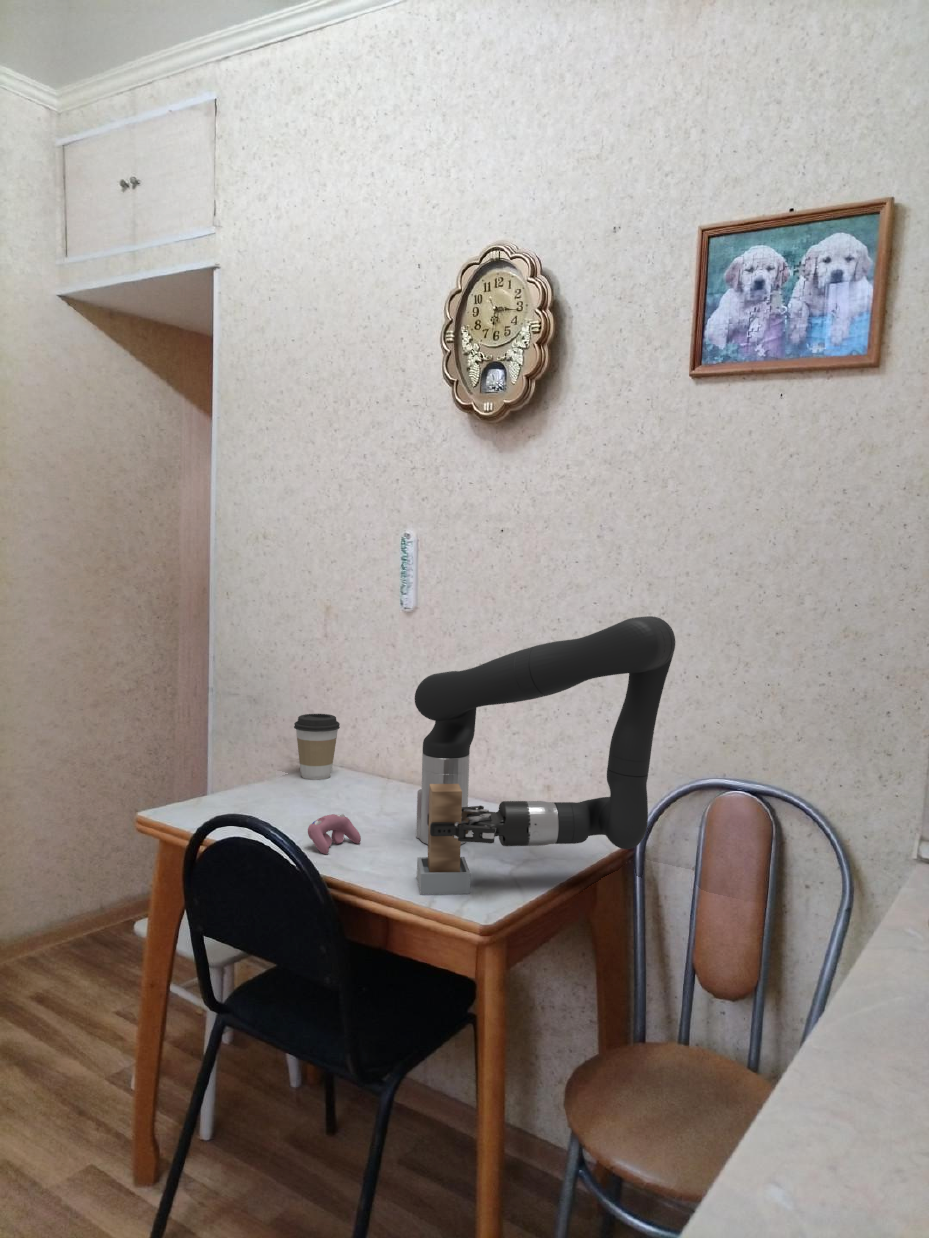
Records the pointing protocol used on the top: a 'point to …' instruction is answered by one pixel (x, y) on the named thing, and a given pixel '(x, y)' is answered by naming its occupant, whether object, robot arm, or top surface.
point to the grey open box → (443, 879)
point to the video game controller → (339, 829)
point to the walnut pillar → (444, 809)
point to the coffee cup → (316, 744)
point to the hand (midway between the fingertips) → (429, 824)
